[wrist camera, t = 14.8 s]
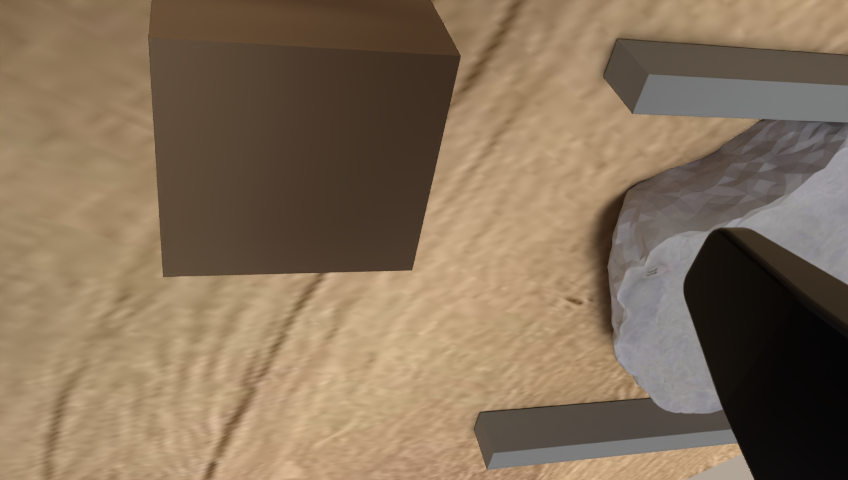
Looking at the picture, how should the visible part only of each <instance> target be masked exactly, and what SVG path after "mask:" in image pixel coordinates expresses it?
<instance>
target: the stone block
mask: <svg viewBox="0 0 848 480" xmlns="http://www.w3.org/2000/svg"><path fill="white" fill-rule="evenodd" d="M721 227H745V228H749V229H752V230H754V231H756V232H757V233H759V234H761V235H763V236H764V237H766V238H768V239H770V240H771V241H773V242H775V243H777V244H778V245H780V246H782V247H783V248H785V249H787V250H789V251H790V252H792V253H794V254H796V255H797V256H799V257H801V258H803V259H804V260H806V261H808V262H809V263H811V264H813V265H815V266H816V267H818V268H820V269H822V270H823V271H825V272H827V273H829V274H830V275H832V276H834V277H835V278H837V279H839V280H841V281H842V282H844V283H846V284H848V122H823V121H798V120H773V119H766V120H764V121H759V122H757V123H756V124H755V125H753V126H752V127H751V128H749V129H748V130H747V131H745V132H744V133H742V134H740V135H738V136H736V137H735V138H733V139H732V140H730V141H729V142H727V143H726V144H724V145H723V146H722V147H721V148H720V149H719V150H718V151H716V152H714V153H713V154H711V155H709V156H707V157H705V158H703V159H700V160H697V161H695V162H692V163H689V164H686V165H684V166H679V167H675V168H671V169H668V170H666V171H664V172H662V173H660V174H658V175H656V176H654V177H652V178H650V179H648V180H645V181H643V182H640V183H638V184H637V185H635V186H634V187H632V188H631V189H630V190H628V192H627V194H626V196H625V198H624V202H623V207H622V209H621V211H620V214H619V218H618V221H617V225H616V227H615V230H614V233H613V237H612V249H611V252H610V257H609V263H608V266H607V268H608V271H609V285H610V293H611V301H612V302H611V310H612V326H613V328H614V332H613V337H612V341H613V346H614V355H615V358H616V360H617V361H618V362H619V363H620V365H621V366H622V367H623V368H624V369H625V370H626V371H627V372H628V373H629V374H631V375H633V378H634V380H635V381H636V383H637V384H638V385H639V386H640V387H641V388H643V389H644V390H645V391H646V392H647V393H648V394H649V396H650V397H651V398H652V401H653V402H654V403H656V404H657V405H658V406H659V407H661V408H663V409H664V410H667V411H670V412H675V413H680V412H682V413H712V412H716V411H719V410H722V406H721V404H720V401H719V398H718V395H717V393H716V390H715V387H714V384H713V381H712V378H711V375H710V372H709V369H708V366H707V364H706V361H705V358H704V355H703V352H702V349H701V346H700V343H699V340H698V337H697V334H696V331H695V328H694V325H693V322H692V319H691V316H690V313H689V311H688V308H687V305H686V302H685V299H684V294H683V283H684V279H685V276H686V274H687V272H688V270H689V268H690V266H691V265H692V263H693V261H694V259H695V257H696V256H697V254H698V252H699V250H700V248H701V246H702V245H703V243H704V241H705V239H706V237H707V236H708V235H709V233H711V232H712V231H713V230H714V229H717V228H721Z"/></svg>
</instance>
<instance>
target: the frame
mask: <svg viewBox="0 0 848 480" xmlns="http://www.w3.org/2000/svg"><path fill="white" fill-rule="evenodd" d="M604 78H605V80H606V81H607V82H608V84H609V85H610V86H611V87H612V89H613V90H614V91H615V92H616V94H617V95H618V96H619V97H620V99H621V100H622V101H623V102H624V104H625V105H626V106H627V107H628V109H629V110H630V111H631V113H632V114H647V115H672V116H698V117H723V118H748V119H773V120H798V121H823V122H848V55H834V54H820V53H806V52H792V51H778V50H764V49H750V48H736V47H722V46H708V45H694V44H681V43H667V42H653V41H639V40H625V39H617V42H616V44H615V47H614V50H613V53H612V55H611V58H610V61H609V64H608V66H607V69H606V72H605V74H604ZM474 431H475V434H476V437H477V441H478V444H479V447H480V450H481V453H482V456H483V459H484V462H485V465H486V468H487V470H490V469H499V468H508V467H518V466H527V465H536V464H546V463H555V462H565V461H574V460H583V459H593V458H602V457H611V456H621V455H630V454H639V453H649V452H658V451H667V450H677V449H686V448H695V447H705V446H714V445H724V444H733V443H737V441H736V438H735V436H734V434H733V432H732V430H731V427H730V425H729V423H728V421H727V418H726V416H725V414H724V411H723V409H722V410H719V411H716V412H712V413H682V412H680V413H675V412H670V411H667V410H664V409H663V408H661V407H659V406H658V405H657V404H656V403H654V402H653V401H652V398H651V399H639V400H627V401H615V402H603V403H591V404H579V405H567V406H555V407H543V408H531V409H519V410H507V411H495V412H483V413H480V414H479V417H478V420H477V423H476V425H475V428H474Z"/></svg>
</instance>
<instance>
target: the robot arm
mask: <svg viewBox="0 0 848 480" xmlns="http://www.w3.org/2000/svg"><path fill="white" fill-rule="evenodd" d="M683 294H684V299H685V302H686V305H687V308H688V311H689V313H690V316H691V319H692V322H693V325H694V328H695V331H696V334H697V337H698V340H699V343H700V346H701V349H702V352H703V355H704V358H705V361H706V364H707V366H708V369H709V372H710V375H711V378H712V381H713V384H714V387H715V390H716V393H717V395H718V398H719V401H720V404H721V406H722V409H723V411H724V414H725V416H726V418H727V421H728V423H729V425H730V427H731V430H732V432H733V434H734V436H735V438H736V441H737V443H738V445H739V447H740V449H741V452H742V454H743V456H744V458H745V460H746V463H747V465H748V467H749V469H750V471H751V474H752V476H753V478H754V480H848V284H846V283H844V282H842V281H841V280H839V279H837V278H835V277H834V276H832V275H830V274H829V273H827V272H825V271H823V270H822V269H820V268H818V267H816V266H815V265H813V264H811V263H809V262H808V261H806V260H804V259H803V258H801V257H799V256H797V255H796V254H794V253H792V252H790V251H789V250H787V249H785V248H783V247H782V246H780V245H778V244H777V243H775V242H773V241H771V240H770V239H768V238H766V237H764V236H763V235H761V234H759V233H757V232H756V231H754V230H752V229H749V228H745V227H721V228H717V229H714V230H713V231H712V232H711V233H709V235H708V236H707V237H706V239H705V241H704V243H703V245H702V246H701V248H700V250H699V252H698V254H697V256H696V257H695V259H694V261H693V263H692V265H691V266H690V268H689V270H688V272H687V274H686V276H685V279H684V283H683Z"/></svg>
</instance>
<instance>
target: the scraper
mask: <svg viewBox="0 0 848 480" xmlns="http://www.w3.org/2000/svg"><path fill="white" fill-rule="evenodd" d="M148 40H149V56H150V73H151V89H152V105H153V121H154V137H155V154H156V170H157V186H158V202H159V218H160V235H161V251H162V267H163V277H175V276H213V275H252V274H290V273H328V272H366V271H404V270H412V269H413V264H414V260H415V255H416V251H417V247H418V242H419V238H420V233H421V229H422V225H423V220H424V216H425V211H426V207H427V203H428V198H429V194H430V189H431V185H432V181H433V176H434V172H435V167H436V163H437V159H438V154H439V150H440V145H441V141H442V136H443V132H444V128H445V123H446V119H447V114H448V110H449V106H450V101H451V97H452V92H453V88H454V84H455V79H456V75H457V70H458V66H459V62H460V57H461V55H460V54H459V52H458V50H457V48H456V46H455V44H454V42H453V41H452V39H451V37H450V35H449V33H448V31H447V29H446V28H445V26H444V24H443V22H442V20H441V18H440V16H439V15H438V13H437V11H436V9H435V7H434V5H433V3H432V2H431V0H152V4H151V15H150V25H149V36H148Z"/></svg>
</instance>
